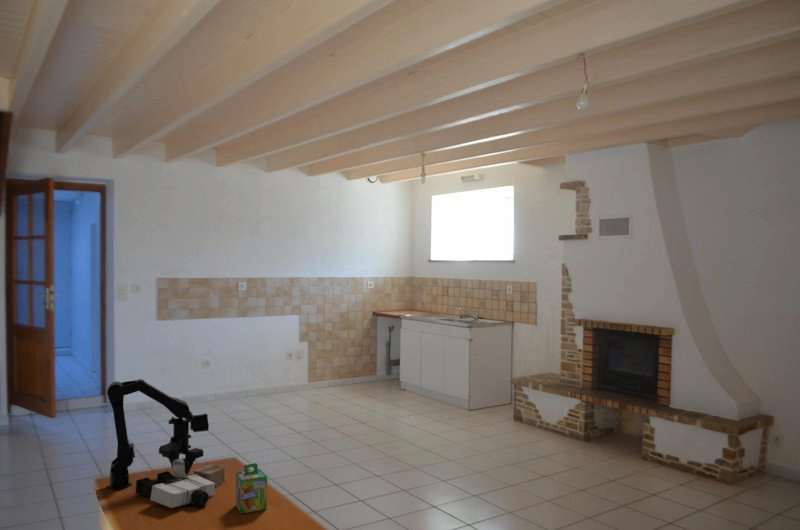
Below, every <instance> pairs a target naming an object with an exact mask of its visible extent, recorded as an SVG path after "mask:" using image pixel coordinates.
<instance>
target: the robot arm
mask: <svg viewBox="0 0 800 530" xmlns="http://www.w3.org/2000/svg"><path fill="white" fill-rule="evenodd" d="M106 392H107V393H106V394H107V397H108V401H109V403H110V405H111V407H112V411H113V419H114V427H115V434H116V440H117V442H116V443H117V450H116V457H115V459H113V460H112V461H111V463H110V470H109V471H110V472H109V485H106V488H107V489H111V490H115V491H119V490H122V489H125V488H126V487H130V486H132V485H133V483H131V482H130V474H129V469H128V468H129V467H130V466H132V464H133V463H134V458H136V451H135V450H134V447H135V445H134V444H135V443H134V442H130V441H129V437H128V429H127V428H128V427H127V423H126V422H127V421H126V415H125V408H124V402H125V400H124V399H125V396H127V395H131V394H133V393H137V392H140V393H141V394H143V395H145V396H147V397H148V398H150V399H152V400H154V401H156V402H157V403H159V404H161V405H162V406H164V407H165V408H166V409H168V411H169V412H170V413H171V414H173V415H174V416H172V417H171V418H170V419H168V425H173V426H172V427H173V429H172V431H173V436H171V437H170V440H169V442H168V443H166V444H163V445H160V446H159V448H158V454H160V455H161V456H162V457H163V458H167V459H168V460H169V463H170V465H171V468H172V469H173V464H172V462H173V461H174V460H176V459H180V455H184V459H182V458H181V459H182V460H183V461H184V462H185V474H186V475H187V474H188V473H189V474H190V471H191V469H192V467H193V464H194V462H195V461H196V460H197V459H200V458H201V457H204V450H203V449H202V448H198V447H195V448H192V445H191V444H189V443H190V442H189V441H190V439H191V438H192V435H191V434H189V433H190V431H192V433H198V432H208V431H209V428H210V427H209V418H208V413H202V414H193V412H191V410H190V407H189V404H188V403H187V402H186V401H184V400H182V399H179V398H176V397H174V396H171V395H168V394H167V393H165V392H163V391H162V390H159V389H158V388H156V387H155V386H153V385H151V384H150V383H148V382H147V381H145V380H144V379H142V378H140V379H135V380H129V381H128V380H126V381H123V382H120V381H113V382H112V383H110V384H109V385H108V386H107V391H106ZM189 428H190V429H189ZM189 430H190V431H189Z"/></svg>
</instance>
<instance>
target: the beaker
mask: <svg viewBox="0 0 800 530" xmlns="http://www.w3.org/2000/svg"><path fill="white" fill-rule="evenodd" d="M184 458H185V457H184ZM184 458H179V459H176V460H174V461H173V462H172V464H173V468H172V475H173V476H174V477H175V478H177V479H186V477H187V476H190V472H189V473H188V474H187V475H186V474H185V462H184V461H183V460H182V459H184Z"/></svg>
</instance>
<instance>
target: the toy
mask: <svg viewBox="0 0 800 530" xmlns="http://www.w3.org/2000/svg"><path fill="white" fill-rule="evenodd" d="M135 481H136V484H135V494H137V495H141V496H144V497H146V498H148V499H150V501H152V502H154V503H157V504H160V505H162V506H164V507H167V508H169V509H173V508H178V507H181V506H185V505H188V504H192V505H194V506H195V507H197V508H198V509H201V508H205V506H206V504H207V503H208V501H209V498H210V497H213V496H215V489H216V487H215V483H214V482H212V481H209V480H207V479H205V478H202V477H200V476H198V475H194V474H193V475H189V476H187V477H186V478H182V479H177V478H175V477H174V476H173V473H171V472H170V471H168V470H167V471H162V472H158V473H157V475H156V481H155V480H152V479H150V478H149V477H144V478H140V479H136V480H135Z"/></svg>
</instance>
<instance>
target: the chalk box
mask: <svg viewBox="0 0 800 530" xmlns="http://www.w3.org/2000/svg"><path fill="white" fill-rule="evenodd" d="M249 468H253V469H252V470H250V469H249ZM267 496H268V476H267V475H266V474H265V472H264V471H263V470H262V469H259V467H258V463H257V462H255V463H249V464H245V465H244V467H243V471H238V472H235V506H236V508H237V510H238V512H239V513H240V514H241V515H243V514H248V513H253V512H259V511H260V512H261V511H265V510H267V506H268V505H267V502H268V501H267V499H268V498H267Z"/></svg>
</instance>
